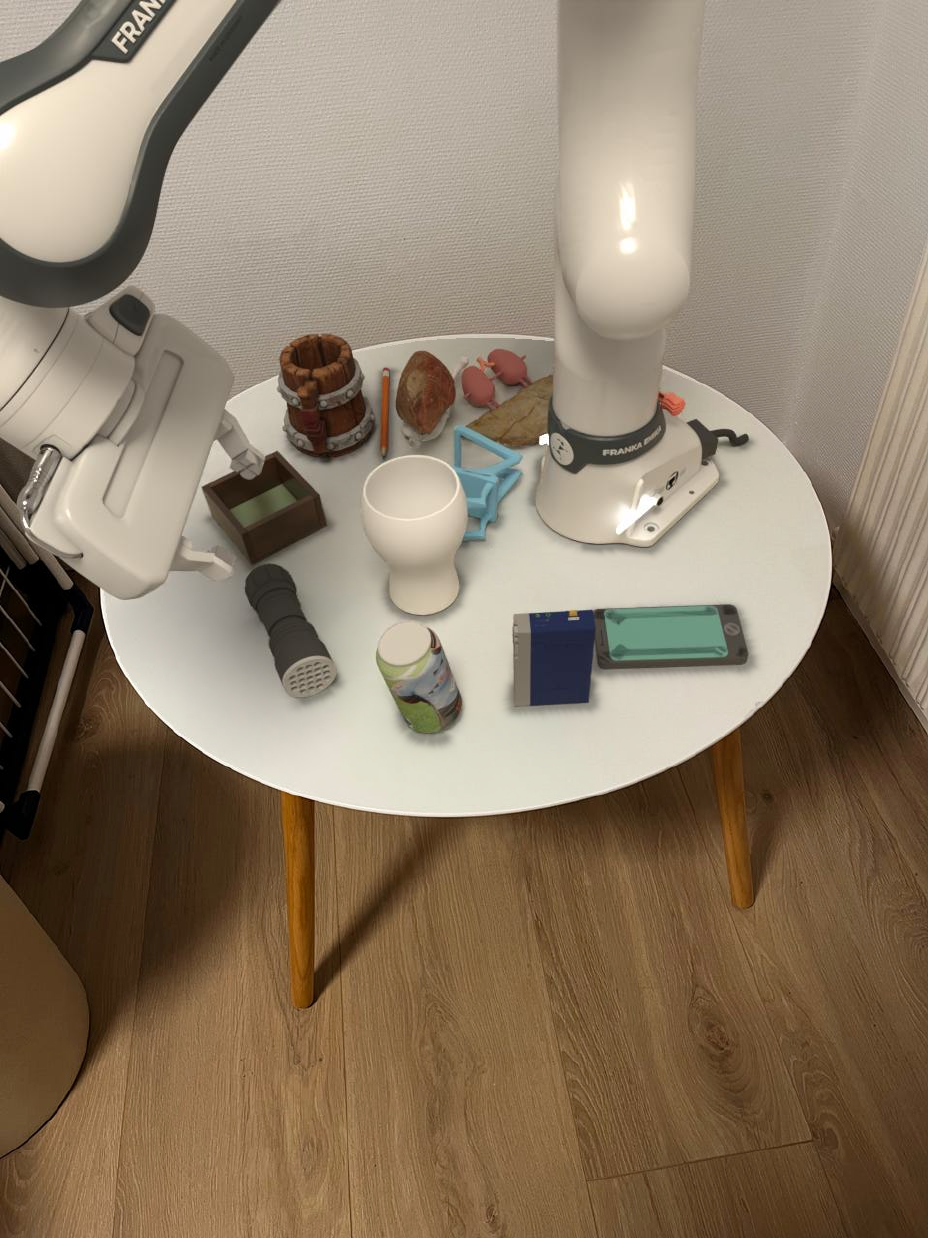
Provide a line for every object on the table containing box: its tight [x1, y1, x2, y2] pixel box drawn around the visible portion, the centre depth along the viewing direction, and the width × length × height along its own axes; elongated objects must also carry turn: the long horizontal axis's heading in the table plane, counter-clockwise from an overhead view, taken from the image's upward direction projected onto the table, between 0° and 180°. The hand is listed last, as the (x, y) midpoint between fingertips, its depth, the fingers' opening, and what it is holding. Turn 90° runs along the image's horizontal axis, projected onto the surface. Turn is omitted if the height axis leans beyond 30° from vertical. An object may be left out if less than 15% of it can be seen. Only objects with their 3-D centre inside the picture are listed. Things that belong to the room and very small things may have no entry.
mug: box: [276, 333, 376, 458], centre depth 112 cm, size 12×14×15 cm
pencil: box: [379, 367, 390, 460], centre depth 119 cm, size 1×19×1 cm
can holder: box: [201, 450, 328, 566], centre depth 106 cm, size 10×10×5 cm
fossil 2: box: [395, 349, 457, 435], centre depth 112 cm, size 13×8×10 cm
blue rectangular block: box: [511, 609, 596, 708], centre depth 85 cm, size 7×2×12 cm, turn 92°
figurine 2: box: [460, 348, 534, 411], centre depth 120 cm, size 12×3×7 cm
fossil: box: [461, 374, 553, 447], centre depth 116 cm, size 21×13×2 cm, turn 135°
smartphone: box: [593, 603, 750, 670], centre depth 93 cm, size 7×1×15 cm
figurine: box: [401, 356, 470, 450], centre depth 117 cm, size 7×4×18 cm
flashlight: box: [244, 563, 337, 698], centre depth 94 cm, size 15×5×5 cm, turn 25°
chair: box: [448, 424, 524, 542], centre depth 104 cm, size 8×8×12 cm
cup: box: [360, 454, 469, 616], centre depth 93 cm, size 11×11×15 cm
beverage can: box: [375, 620, 463, 734], centre depth 84 cm, size 6×7×12 cm
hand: (244, 518), depth 64 cm, fingers open, 8 cm apart
